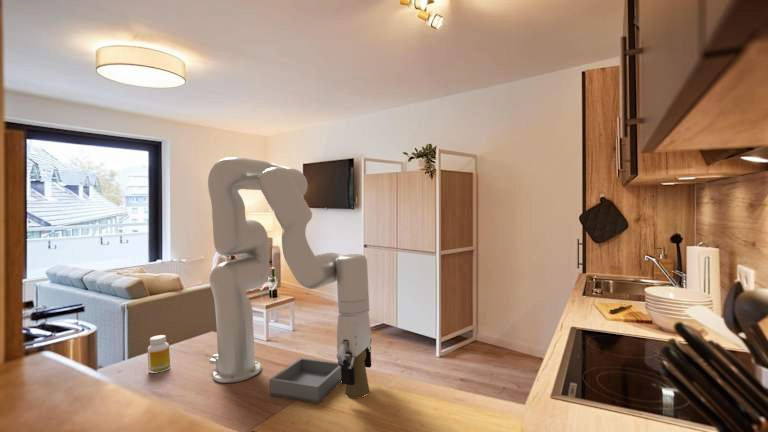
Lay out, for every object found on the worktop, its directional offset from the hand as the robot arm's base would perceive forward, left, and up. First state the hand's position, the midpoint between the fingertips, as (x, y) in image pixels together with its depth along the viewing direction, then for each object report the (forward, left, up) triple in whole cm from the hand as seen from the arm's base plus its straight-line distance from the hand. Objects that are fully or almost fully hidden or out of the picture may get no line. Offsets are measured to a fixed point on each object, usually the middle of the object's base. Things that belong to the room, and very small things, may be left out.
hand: (357, 375), depth 92 cm
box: (-13, -1, -4) cm, 14 cm away
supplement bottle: (-61, -5, -5) cm, 62 cm away
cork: (0, 0, -5) cm, 5 cm away
